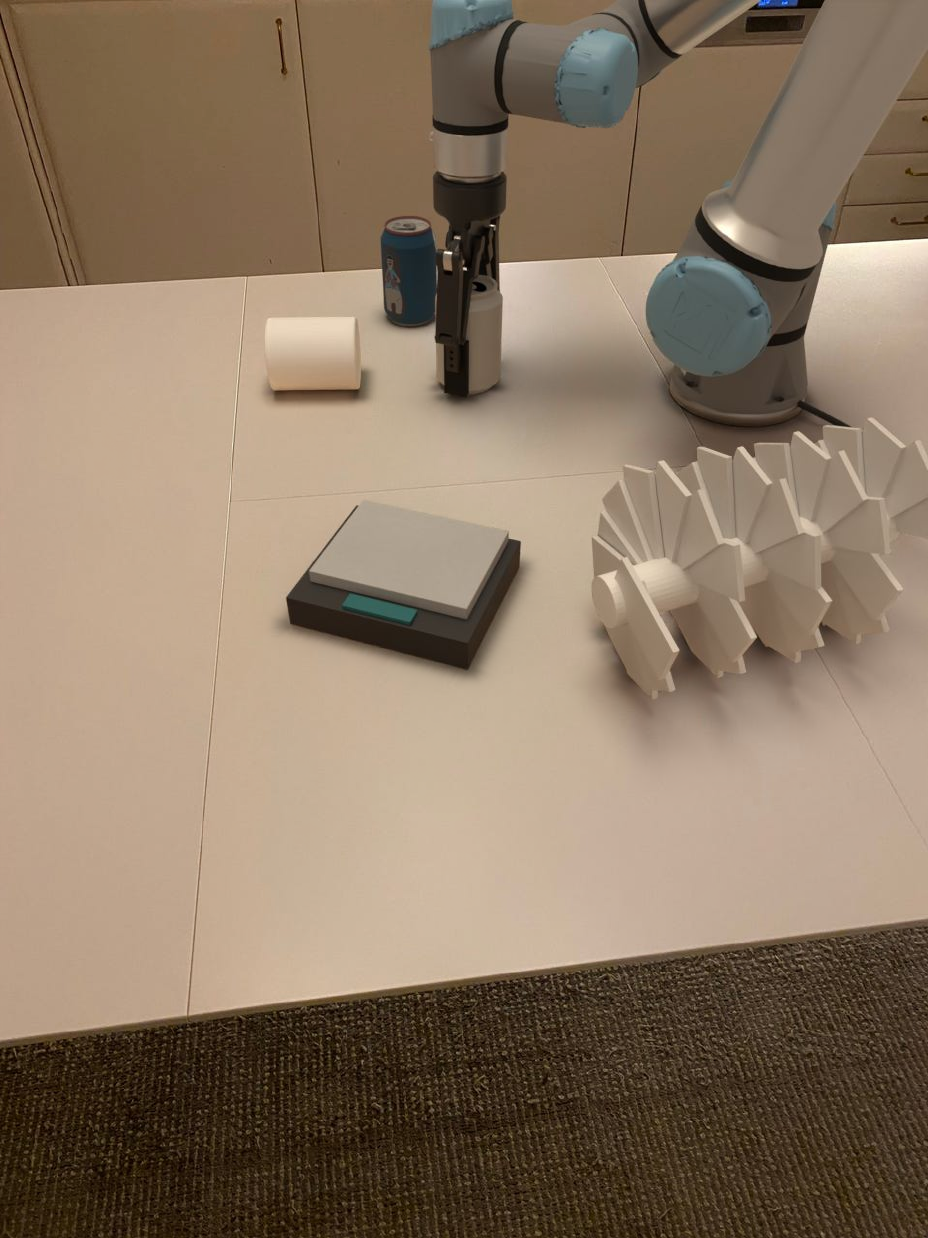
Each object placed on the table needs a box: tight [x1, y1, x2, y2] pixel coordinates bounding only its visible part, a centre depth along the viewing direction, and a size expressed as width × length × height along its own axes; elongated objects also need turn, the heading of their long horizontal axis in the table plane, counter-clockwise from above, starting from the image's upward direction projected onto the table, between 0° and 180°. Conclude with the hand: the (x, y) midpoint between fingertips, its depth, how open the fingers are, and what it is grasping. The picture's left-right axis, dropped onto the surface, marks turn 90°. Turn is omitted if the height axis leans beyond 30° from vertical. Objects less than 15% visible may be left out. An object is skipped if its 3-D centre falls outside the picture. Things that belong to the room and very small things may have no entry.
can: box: [434, 275, 504, 395], centre depth 108 cm, size 8×8×12 cm
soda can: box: [380, 215, 437, 327], centre depth 121 cm, size 7×7×12 cm
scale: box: [285, 499, 522, 670], centre depth 82 cm, size 16×14×4 cm
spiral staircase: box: [590, 416, 928, 700], centre depth 74 cm, size 18×18×25 cm
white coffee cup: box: [263, 316, 362, 391], centre depth 110 cm, size 12×10×8 cm
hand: (468, 376), depth 112 cm, fingers closed on can, 7 cm apart
